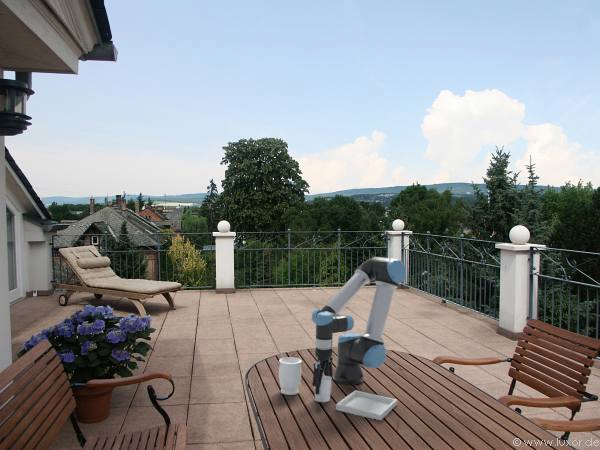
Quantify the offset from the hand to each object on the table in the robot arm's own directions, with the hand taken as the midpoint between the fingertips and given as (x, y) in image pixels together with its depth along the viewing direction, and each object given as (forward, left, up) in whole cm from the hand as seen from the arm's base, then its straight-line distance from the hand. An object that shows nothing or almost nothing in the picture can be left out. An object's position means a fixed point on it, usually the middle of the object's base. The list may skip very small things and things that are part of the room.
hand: (322, 397), depth 213 cm
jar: (+12, -12, -1) cm, 17 cm away
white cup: (0, 0, -1) cm, 1 cm away
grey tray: (-16, +13, -1) cm, 21 cm away
